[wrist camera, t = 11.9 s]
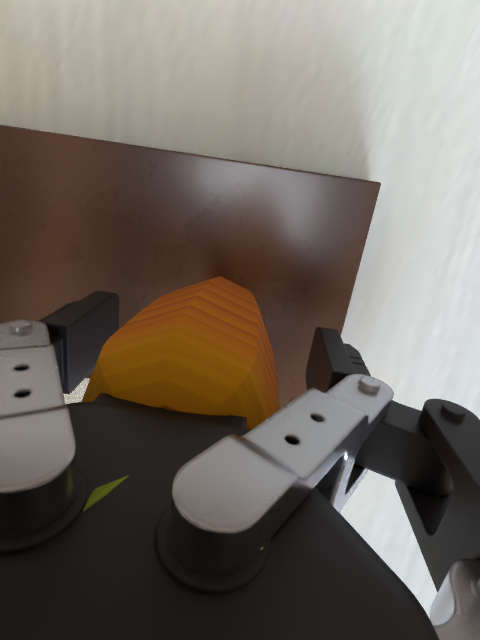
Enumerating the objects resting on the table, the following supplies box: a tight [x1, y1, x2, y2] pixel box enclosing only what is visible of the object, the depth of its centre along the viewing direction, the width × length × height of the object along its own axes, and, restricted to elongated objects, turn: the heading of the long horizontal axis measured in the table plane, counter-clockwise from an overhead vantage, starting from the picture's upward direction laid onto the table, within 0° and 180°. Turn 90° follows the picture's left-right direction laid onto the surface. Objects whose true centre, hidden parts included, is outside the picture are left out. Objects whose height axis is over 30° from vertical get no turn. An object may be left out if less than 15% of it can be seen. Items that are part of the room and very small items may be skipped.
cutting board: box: [0, 125, 381, 409], centre depth 20 cm, size 24×12×2 cm, turn 82°
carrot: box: [82, 276, 280, 550], centre depth 11 cm, size 5×5×15 cm
